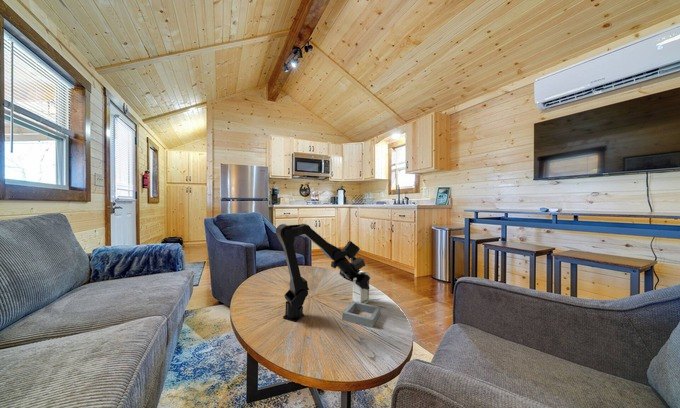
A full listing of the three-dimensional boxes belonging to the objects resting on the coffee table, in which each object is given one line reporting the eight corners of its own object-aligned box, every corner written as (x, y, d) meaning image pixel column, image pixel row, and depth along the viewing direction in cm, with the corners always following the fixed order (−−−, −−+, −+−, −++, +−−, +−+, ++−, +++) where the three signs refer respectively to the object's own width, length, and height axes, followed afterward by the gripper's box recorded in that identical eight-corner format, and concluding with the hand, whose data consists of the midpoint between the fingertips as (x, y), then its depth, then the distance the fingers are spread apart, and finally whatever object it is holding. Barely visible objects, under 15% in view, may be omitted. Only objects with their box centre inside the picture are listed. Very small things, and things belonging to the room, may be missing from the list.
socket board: (342, 319, 102) (342, 312, 102) (353, 307, 114) (353, 301, 114) (372, 327, 97) (372, 320, 97) (380, 313, 109) (380, 307, 109)
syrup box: (360, 305, 116) (362, 275, 116) (351, 301, 121) (353, 272, 120) (368, 302, 120) (370, 273, 120) (360, 298, 125) (361, 270, 124)
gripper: (367, 257, 110) (385, 278, 116) (345, 249, 126) (361, 268, 132) (352, 277, 106) (371, 298, 112) (331, 266, 122) (349, 284, 128)
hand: (363, 285), depth 121 cm, fingers open, 9 cm apart
